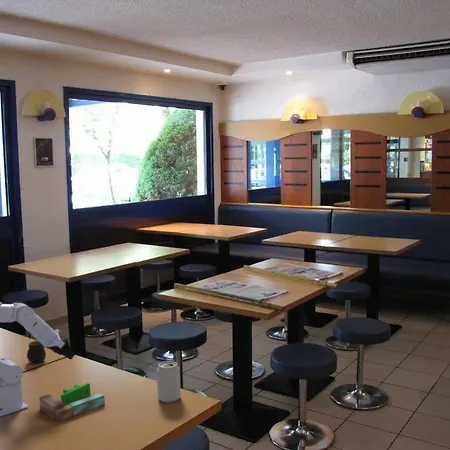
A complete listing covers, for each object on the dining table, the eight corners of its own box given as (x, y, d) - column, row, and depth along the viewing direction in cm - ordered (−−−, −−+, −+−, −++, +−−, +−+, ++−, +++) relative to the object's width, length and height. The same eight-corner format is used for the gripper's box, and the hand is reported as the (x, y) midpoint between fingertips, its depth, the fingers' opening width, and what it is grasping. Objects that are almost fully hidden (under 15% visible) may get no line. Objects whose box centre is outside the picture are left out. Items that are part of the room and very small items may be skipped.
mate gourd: (36, 357, 224) (34, 334, 223) (50, 360, 221) (49, 336, 220) (23, 363, 218) (22, 339, 216) (38, 366, 215) (36, 341, 213)
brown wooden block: (53, 419, 169) (53, 406, 168) (40, 409, 176) (39, 397, 176) (65, 414, 171) (64, 402, 171) (51, 405, 179) (50, 393, 178)
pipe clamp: (83, 394, 187) (82, 381, 187) (90, 396, 185) (89, 383, 185) (56, 406, 178) (55, 392, 178) (63, 409, 176) (63, 395, 176)
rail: (58, 421, 167) (57, 411, 166) (54, 418, 169) (53, 409, 168) (104, 405, 178) (104, 395, 177) (100, 402, 180) (100, 393, 179)
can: (185, 398, 181) (184, 363, 180) (168, 405, 175) (166, 369, 174) (170, 392, 186) (168, 358, 185) (153, 399, 181) (151, 364, 179)
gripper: (58, 324, 178) (85, 349, 185) (40, 317, 189) (66, 341, 196) (43, 341, 175) (71, 366, 182) (25, 334, 186) (52, 357, 192)
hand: (67, 354), depth 188 cm, fingers open, 7 cm apart
